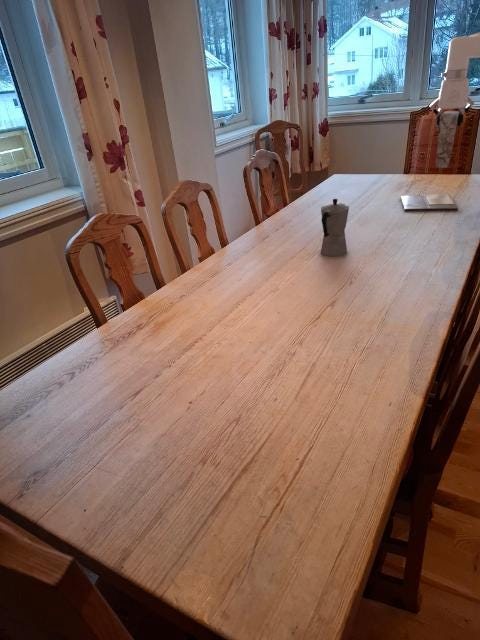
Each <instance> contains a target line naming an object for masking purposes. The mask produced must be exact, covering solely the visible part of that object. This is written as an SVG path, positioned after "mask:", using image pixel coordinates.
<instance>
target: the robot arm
mask: <svg viewBox="0 0 480 640" xmlns="http://www.w3.org/2000/svg"><path fill="white" fill-rule="evenodd" d="M470 59H480V31H479V32H475V33H473V34H469V35H463V36H456V37H453V38H451V39H450V41H449V44H448V51H447V59H446V67H445V71H444V72H441V73H440V74H441V75H440V77H441V78H443V80H442V81H441V84H440V88H439V93H438V98H437V99H435V100H434V101H433V102H432V103H431V104H430V105H429V109H430V110H431V111H432V112H433V113H434V115H436V118H435V119H436V120H435V125H436V127H437V128H439V123H440V117H441V115H442V114H443V113H444V110H452V109H453V110H454V109H458V110H459V111H458V112H459V116H458V122H457V127H461V126H462V125H461V124H463V121H464V116H465V114H466V113H467V112H468V111H470V109H471V108H472V107H473V106H474V105H475V102H474V101H473V100H472V99H471V98H470V97H469V89H470V87H469V86H470V79H469V78H468V77H467V76H468V71H469V63H470ZM436 106H437V108H438V110H437V109H436Z"/></svg>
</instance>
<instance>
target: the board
mask: <svg viewBox="0 0 480 640" xmlns="http://www.w3.org/2000/svg"><path fill="white" fill-rule="evenodd" d="M400 201H401V205H402V207H403V211H404V212H446V211H447V212H449V211H451V212H453V211H455V212H456V211H459V210H458V209H459V208H458V206H457V205H456V203H455V201H454V200H453V198H452V197H451V195H450V194H449V193H445V194H441V193H440V194H423V195H422V194H420V195H419V194H417V195H414V194H413V195H400Z"/></svg>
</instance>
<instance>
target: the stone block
mask: <svg viewBox="0 0 480 640" xmlns="http://www.w3.org/2000/svg"><path fill="white" fill-rule="evenodd" d="M459 114H460V111H454V110H453V111H451V110H450V111H447V110H446V111H443V112H442V113H441V117H440V123H439V127H438V136H437V137H438V138H437V146H436V147H437V148H436V158H435V168H438V169H449V167H450V165H451V157H452V151H453V148H454V142H455V135H456V131H457V127H458V125H457V122H458V116H459Z"/></svg>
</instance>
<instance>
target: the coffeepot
mask: <svg viewBox="0 0 480 640" xmlns="http://www.w3.org/2000/svg"><path fill="white" fill-rule="evenodd" d="M338 201H339V199H338V198H333V199H332V203H331V204H325V205H323V206H321V207H320V212H321V213H320V214H321V225H322V230H323V236H322V237H323V238H322V243H321V248H320V254H322V255H323V256H326V257H340V256H344V255H346V254H347V253H348V247H347V246H348V245H347V238H346V231H345V230H346V228H347V221H348V216H349V210H350V206H349V205H346V204H345V203H338Z"/></svg>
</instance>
